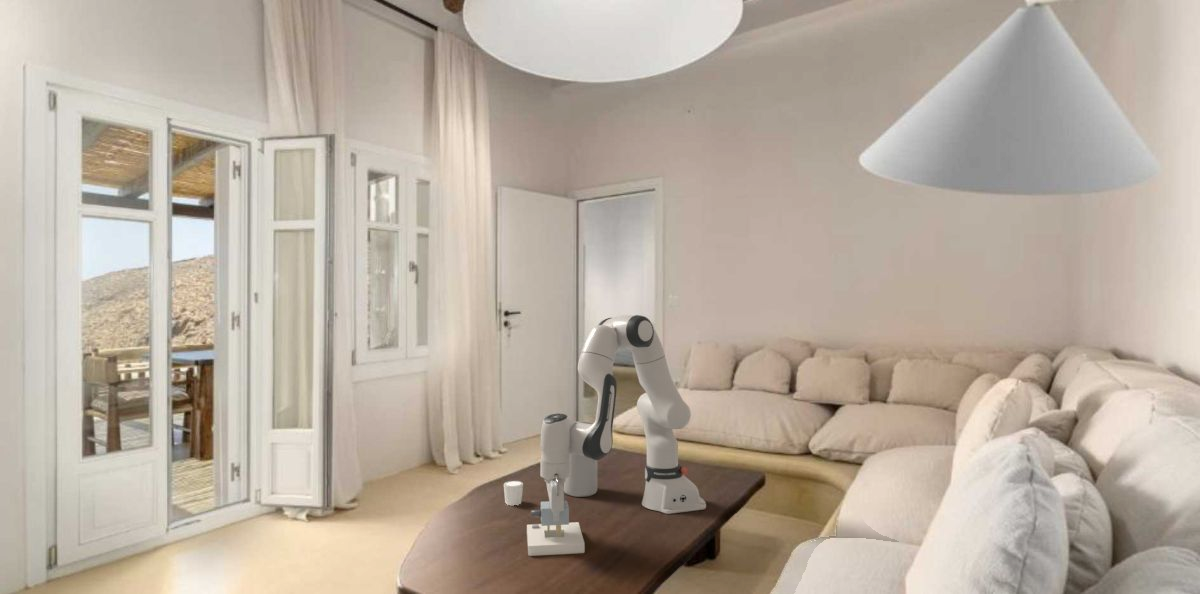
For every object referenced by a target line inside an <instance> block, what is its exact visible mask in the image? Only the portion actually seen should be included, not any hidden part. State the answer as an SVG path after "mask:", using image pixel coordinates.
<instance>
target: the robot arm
mask: <svg viewBox="0 0 1200 594" xmlns="http://www.w3.org/2000/svg"><path fill="white" fill-rule="evenodd" d="M619 349H620V350H623V349H624V350H626V349H630V350H631V354H632V359H633V363H634V366H635V371H636V375H637V378H638V382H639V385H640V387H642V388H643V390H644V391H645V392H644V393H643V394H641V395H640V396H639V397H638V400H637V401H636V409H637V412H638V414H639V416H640V418H641V422H642V426H643V430H644V435H645V440H646V441H645V442H646V463H645V468H644V479H645V486H644V493H643V497H642V501H641V505H642V507H644V508H646V509H649V510H652V511H656V512H660V513H663V514H667V515H668V514H669V515H670V514H677V513H678V514H679V513H687V512H693V511H695V512H696V511H700V510H701V511H702V510H706V508H707V504H706V503H707V502H706V501H705V500H704V499H703V498H702V497H701V496H700V493H699V492H700V491H699V489H698V487H697V485H695V483H694V482H692V481H691V480H690V479H689V478H688V477H686V476H685V475H687V474H688V469H687V468H685V467H684V466H682V465H681V464H679V443H678V440H677V438H676V436H675V434H674V431H673V430H681V429H684V428H685V427H686V426H687V425H689V422H690V420H691V416H692V415H691V414H692V413H691V408H690V407H689V405H688V404H687V403H686V402H685V401H684V399H683V398H682V396H681V393H680V392H679V390H678V389H677V387H676V384H675V383H674V380H673V378H672V376H671V373H670V369H669V366H668V363H667V359H666V355H665V351H664V348H663V344H662V342H661V340H660V338H659V335H658V333H657V331H656V329H654V325H653V324H652V322H651V320H650V319H649V318H647V316H643V315H638V314H635V315H631V314H630V315H620V316H616V317H607V318H605V319H602V320H601V321H600V322H599V323H598V324H597V325H595V326H593V327H592V328H591V330H590V331H589V333H588V334H587V337H586V338H585V341H584V343H583V346H582V349H581V352H580V355H579V359H578V363H577V372H578V375H579V376H580V378H581V379H582V381H583V382H584V383H586V384H588V386H589V387H591V388H592V389H594V390H595V392H596V393H597V404H596V405H597V406H596V413H595V420H594V422H593V423H594V424H586V423H582V422H583V421H578V420H577V421H576V420H574V419H571V418H570V417H568V415H567V414H565V413H553V414H550V415H547V416H545V418H543V420H542V424H541V430H540V449H541V455H540V456H541V457H540V459H539V460H540V474H539V475H540V477H541V478H543V479H544V482H545V483H546V484H545V485H546V489H547V496H548V501H550V506H551V511H552V512H553V521H554V522H556V521H559V514H560V511H563V510H564V501H565V492H564V482H565V481H566V478H567V477H569V476H570V456H569V454H570V453H574V454H578V455H582V456H586V457H588V458H591V459H594V460H597V461H600V460H602V459H604V458H605V457H607V455H609V454H610V452H611V451H612V448H613V442H614V441H613V440H614V439H613V437H614V436H613V427H614V426H613V425H614V418H615V408H616V401H617V400H616V399H617V389H618V388H617V387H618V385H617V384H618V383H617V380H616V377H615V376H614V374H613V367H614V363H615V358H616V355H617V351H618V350H619Z"/></svg>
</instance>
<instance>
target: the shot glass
mask: <svg viewBox="0 0 1200 594" xmlns="http://www.w3.org/2000/svg"><path fill="white" fill-rule="evenodd" d="M523 489H524V482H522V481H520V480H508V481H506V482H504V483H503V493H504V503H506V504H507V505H506V504H505V505H506V506H508V505H510V507H515V506H514V505H517V506H520V505H521V504H522V499H523ZM519 504H520V505H519Z"/></svg>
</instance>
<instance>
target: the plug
mask: <svg viewBox="0 0 1200 594" xmlns="http://www.w3.org/2000/svg"><path fill="white" fill-rule="evenodd" d="M530 518H531V519H533V518H540V524H541V525H542V526H547V532H548V533H550V525H556V530H557V534H561V525H569V523H570V507H569V502H568V500H564V510H563V511H560V514H559V521H556V522H554V521H553V512H552V511H551V506H550V501H549V500H548V501H540V509H537V510H536V509H533V510H530Z"/></svg>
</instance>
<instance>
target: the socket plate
mask: <svg viewBox="0 0 1200 594" xmlns="http://www.w3.org/2000/svg"><path fill="white" fill-rule="evenodd" d="M526 540H527V541H526V542H527V553H528V554H527V556H529V557H532V556H533V557H534V556H550V555H551V556H552V555H554V556H555V555H569V554H571V555H573V554H584V553H585V552H586V551H585V543H586V542H585V540H584V537H583V534H582V530H581V526H580V522H579V521H578V522H576V521H575V522H569V525H561V534H557V530H556V525H550V533H548V532H547V526H542V525H541V523H533V524H532V523H531V524H526Z"/></svg>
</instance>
